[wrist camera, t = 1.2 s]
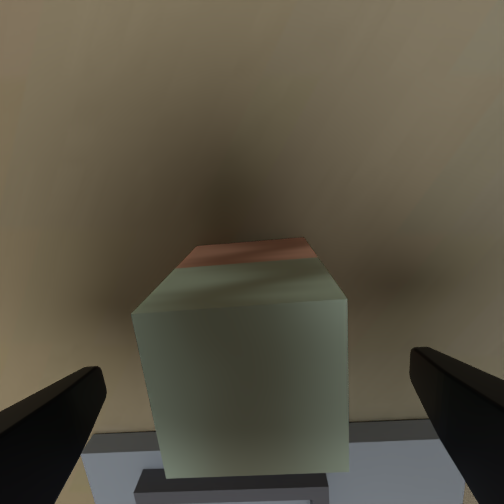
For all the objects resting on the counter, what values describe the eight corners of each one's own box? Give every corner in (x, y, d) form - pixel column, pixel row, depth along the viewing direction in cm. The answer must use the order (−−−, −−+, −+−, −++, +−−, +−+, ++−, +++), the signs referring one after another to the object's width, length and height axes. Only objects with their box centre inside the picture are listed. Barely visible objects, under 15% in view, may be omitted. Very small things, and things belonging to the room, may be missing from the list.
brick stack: (303, 237, 13) (347, 298, 6) (308, 334, 14) (349, 471, 8) (197, 245, 13) (130, 313, 7) (210, 340, 15) (166, 478, 8)
